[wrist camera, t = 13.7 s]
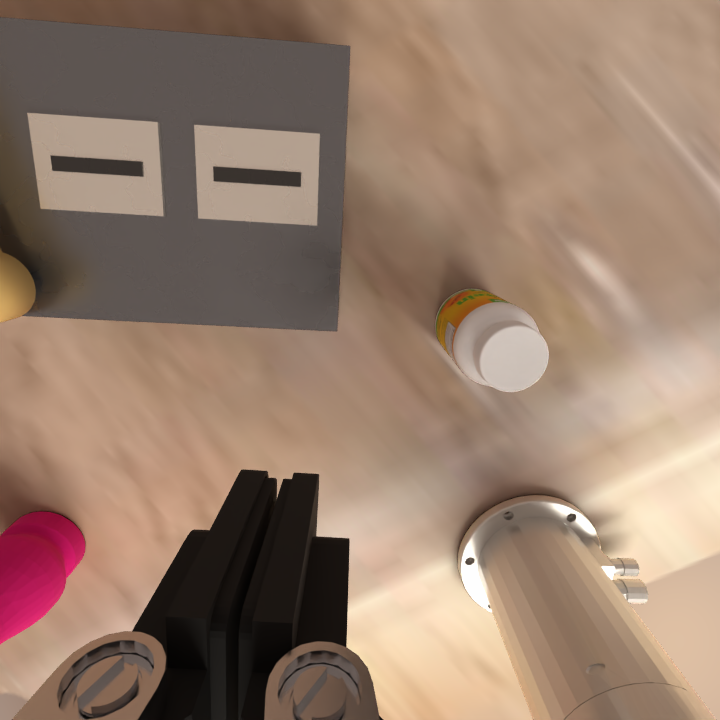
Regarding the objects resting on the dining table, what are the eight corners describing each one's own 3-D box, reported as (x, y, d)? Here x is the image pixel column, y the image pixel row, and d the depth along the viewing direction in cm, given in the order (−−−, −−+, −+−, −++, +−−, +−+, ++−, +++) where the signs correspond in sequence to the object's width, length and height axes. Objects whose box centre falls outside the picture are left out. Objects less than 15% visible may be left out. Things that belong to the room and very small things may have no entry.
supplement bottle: (503, 284, 34) (564, 307, 24) (503, 352, 35) (560, 399, 26) (432, 290, 34) (466, 317, 24) (435, 359, 35) (467, 408, 26)
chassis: (349, 74, 29) (350, 43, 24) (337, 316, 34) (337, 332, 29) (-2, 47, 28) (-79, 7, 23) (36, 300, 33) (-21, 315, 28)
